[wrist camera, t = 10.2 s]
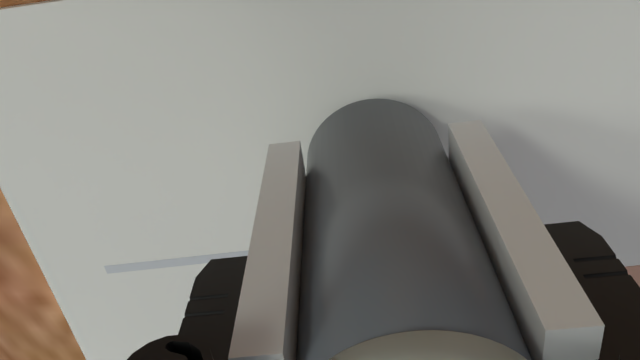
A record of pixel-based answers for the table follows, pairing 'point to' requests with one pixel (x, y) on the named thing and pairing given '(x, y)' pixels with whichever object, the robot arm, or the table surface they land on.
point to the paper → (283, 125)
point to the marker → (394, 248)
